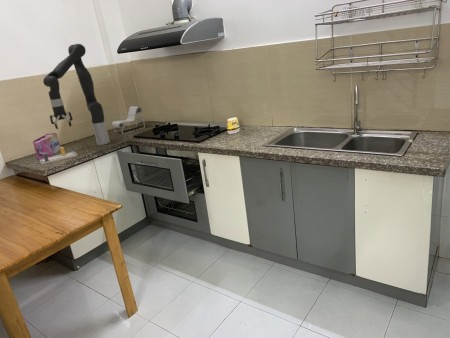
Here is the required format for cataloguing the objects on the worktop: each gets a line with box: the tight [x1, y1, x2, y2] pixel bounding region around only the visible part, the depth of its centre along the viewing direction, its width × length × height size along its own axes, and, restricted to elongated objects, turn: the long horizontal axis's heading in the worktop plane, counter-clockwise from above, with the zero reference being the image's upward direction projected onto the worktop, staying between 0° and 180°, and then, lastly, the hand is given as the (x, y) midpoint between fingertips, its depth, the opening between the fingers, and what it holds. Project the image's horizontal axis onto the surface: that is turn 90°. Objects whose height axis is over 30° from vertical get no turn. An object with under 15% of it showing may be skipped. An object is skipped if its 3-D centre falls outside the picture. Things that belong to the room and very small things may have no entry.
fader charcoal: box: [43, 153, 49, 161], centre depth 244 cm, size 2×4×5 cm
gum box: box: [32, 132, 61, 160], centre depth 264 cm, size 24×8×14 cm, turn 179°
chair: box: [111, 105, 146, 135], centre depth 313 cm, size 13×25×20 cm, turn 134°
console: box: [39, 150, 78, 165], centre depth 252 cm, size 24×12×2 cm, turn 121°
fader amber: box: [60, 146, 66, 155], centre depth 255 cm, size 2×4×5 cm
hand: (63, 127), depth 252 cm, fingers open, 8 cm apart
